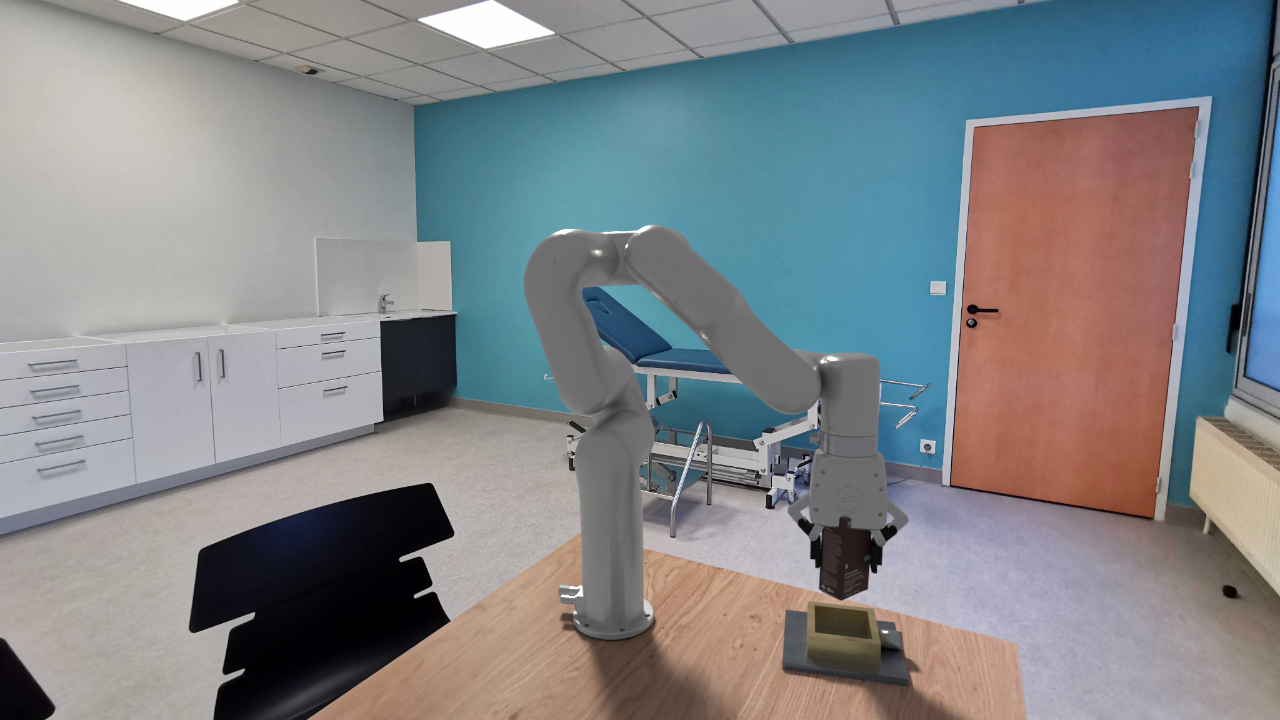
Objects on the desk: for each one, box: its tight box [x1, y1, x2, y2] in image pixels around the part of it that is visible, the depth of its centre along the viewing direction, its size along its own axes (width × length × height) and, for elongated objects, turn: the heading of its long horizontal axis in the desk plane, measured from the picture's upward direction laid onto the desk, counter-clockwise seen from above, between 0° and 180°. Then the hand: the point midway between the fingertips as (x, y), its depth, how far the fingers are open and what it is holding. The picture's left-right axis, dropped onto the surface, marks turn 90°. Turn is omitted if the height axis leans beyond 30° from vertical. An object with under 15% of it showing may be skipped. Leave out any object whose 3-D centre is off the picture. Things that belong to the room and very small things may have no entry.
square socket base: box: [781, 600, 909, 687], centre depth 93 cm, size 16×14×4 cm
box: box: [818, 517, 873, 601], centre depth 91 cm, size 6×4×12 cm
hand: (845, 565), depth 92 cm, fingers closed on box, 6 cm apart
